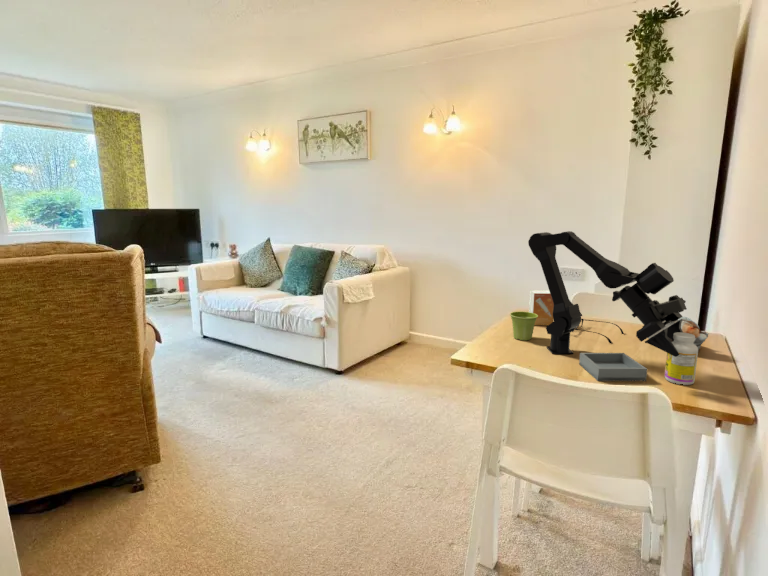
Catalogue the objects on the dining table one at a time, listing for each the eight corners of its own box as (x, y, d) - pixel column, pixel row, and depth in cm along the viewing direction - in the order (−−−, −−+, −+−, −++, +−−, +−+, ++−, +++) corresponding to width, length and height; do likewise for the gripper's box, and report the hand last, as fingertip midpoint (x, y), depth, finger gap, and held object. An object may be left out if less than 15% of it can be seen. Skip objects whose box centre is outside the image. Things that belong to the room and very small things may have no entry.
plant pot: (530, 334, 159) (532, 311, 157) (540, 341, 150) (542, 317, 148) (505, 334, 159) (506, 311, 157) (514, 342, 150) (515, 318, 148)
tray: (579, 364, 129) (580, 352, 128) (622, 364, 128) (623, 352, 127) (597, 381, 116) (598, 368, 116) (646, 381, 116) (647, 368, 115)
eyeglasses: (581, 327, 168) (582, 317, 168) (626, 335, 157) (627, 324, 157) (564, 336, 157) (564, 325, 156) (611, 345, 146) (612, 334, 145)
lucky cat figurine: (707, 347, 142) (721, 316, 133) (690, 368, 136) (704, 337, 128) (658, 325, 151) (669, 295, 143) (641, 344, 146) (651, 314, 138)
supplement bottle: (669, 374, 120) (674, 329, 118) (697, 381, 115) (703, 334, 113) (660, 380, 116) (665, 334, 114) (689, 388, 111) (695, 340, 109)
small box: (532, 325, 170) (533, 293, 167) (528, 321, 176) (529, 290, 173) (553, 325, 169) (555, 293, 167) (548, 321, 175) (550, 290, 173)
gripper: (654, 291, 109) (702, 343, 103) (677, 282, 121) (721, 327, 115) (618, 316, 116) (661, 366, 110) (643, 305, 128) (683, 349, 122)
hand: (683, 351), depth 114 cm, fingers open, 9 cm apart
